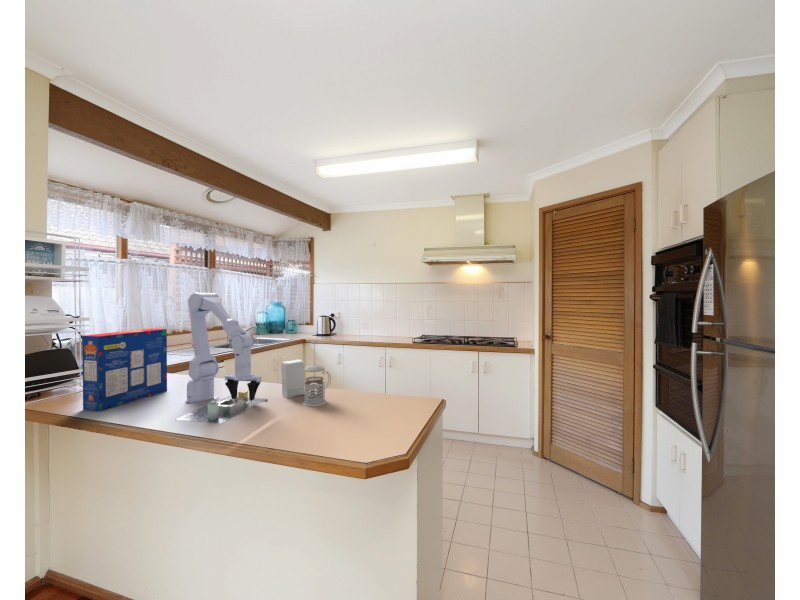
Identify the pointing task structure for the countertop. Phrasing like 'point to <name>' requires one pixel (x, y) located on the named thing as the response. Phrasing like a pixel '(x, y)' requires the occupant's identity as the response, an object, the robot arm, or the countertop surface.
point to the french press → (315, 398)
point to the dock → (223, 410)
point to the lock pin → (242, 395)
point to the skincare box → (293, 378)
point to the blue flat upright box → (123, 367)
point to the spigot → (212, 410)
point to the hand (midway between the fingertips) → (243, 399)
